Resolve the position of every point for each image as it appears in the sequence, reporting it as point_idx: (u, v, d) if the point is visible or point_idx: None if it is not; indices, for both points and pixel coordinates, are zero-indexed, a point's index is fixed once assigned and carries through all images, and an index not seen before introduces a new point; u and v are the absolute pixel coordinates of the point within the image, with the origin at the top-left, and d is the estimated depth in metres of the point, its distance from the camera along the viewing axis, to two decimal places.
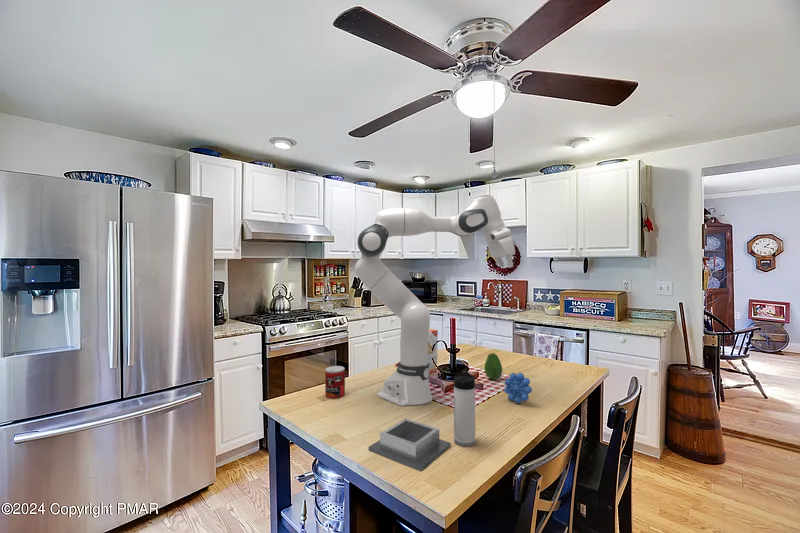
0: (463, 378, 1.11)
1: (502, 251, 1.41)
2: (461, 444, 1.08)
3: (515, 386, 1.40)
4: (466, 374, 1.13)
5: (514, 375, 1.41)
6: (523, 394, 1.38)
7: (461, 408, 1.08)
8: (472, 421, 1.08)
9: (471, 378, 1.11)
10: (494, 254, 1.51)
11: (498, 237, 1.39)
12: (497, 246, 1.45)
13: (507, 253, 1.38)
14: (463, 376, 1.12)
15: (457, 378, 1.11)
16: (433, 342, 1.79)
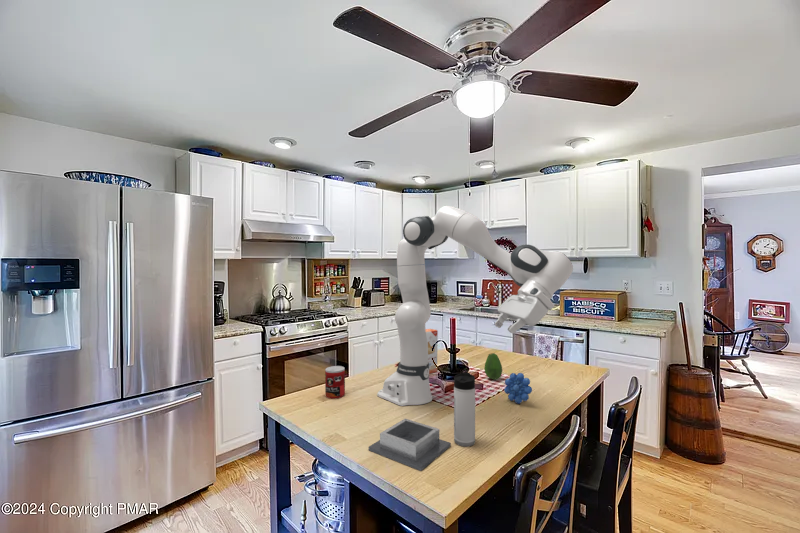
0: (463, 378, 1.11)
1: (524, 311, 1.07)
2: (461, 444, 1.08)
3: (515, 386, 1.40)
4: (466, 374, 1.13)
5: (514, 375, 1.41)
6: (523, 394, 1.38)
7: (461, 408, 1.08)
8: (472, 421, 1.08)
9: (471, 378, 1.11)
10: (506, 309, 1.17)
11: (540, 296, 1.05)
12: (522, 304, 1.11)
13: (528, 316, 1.03)
14: (463, 376, 1.12)
15: (457, 378, 1.11)
16: (433, 342, 1.79)
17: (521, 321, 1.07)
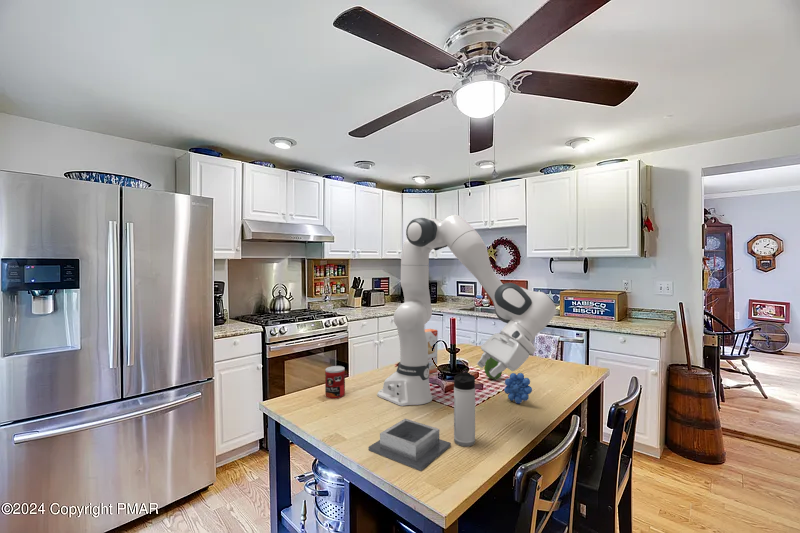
0: (463, 378, 1.11)
1: (505, 354, 1.06)
2: (461, 444, 1.08)
3: (515, 386, 1.40)
4: (466, 374, 1.13)
5: (514, 375, 1.41)
6: (523, 394, 1.38)
7: (461, 408, 1.08)
8: (472, 421, 1.08)
9: (471, 378, 1.11)
10: (489, 348, 1.16)
11: (521, 341, 1.04)
12: (504, 346, 1.10)
13: (509, 361, 1.02)
14: (463, 376, 1.12)
15: (457, 378, 1.11)
16: (433, 342, 1.79)
17: (502, 365, 1.06)
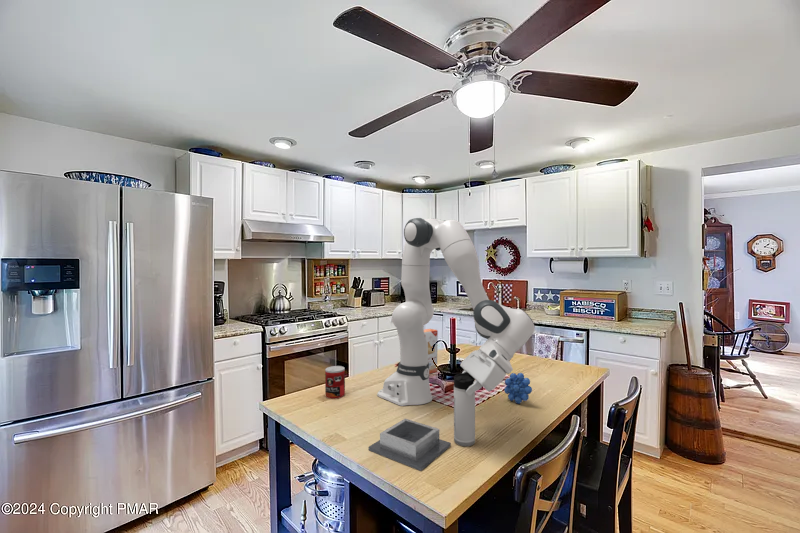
0: (463, 378, 1.11)
1: (482, 374, 1.05)
2: (461, 444, 1.08)
3: (515, 386, 1.40)
4: (466, 374, 1.13)
5: (514, 375, 1.41)
6: (523, 394, 1.38)
7: (461, 408, 1.08)
8: (472, 421, 1.08)
9: (471, 378, 1.11)
10: (467, 366, 1.15)
11: (497, 360, 1.03)
12: (482, 365, 1.09)
13: (484, 382, 1.01)
14: (463, 376, 1.13)
15: (457, 378, 1.11)
16: (433, 342, 1.79)
17: (477, 384, 1.06)
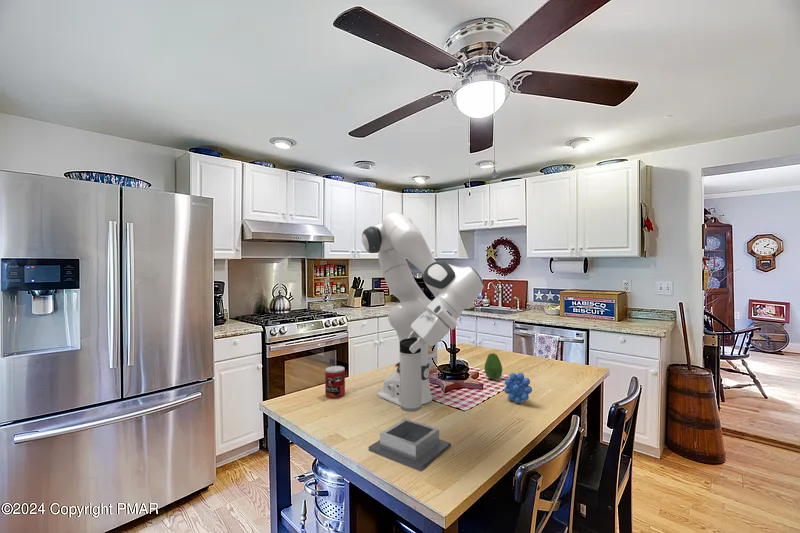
0: (409, 342, 1.07)
1: (425, 330, 1.01)
2: (406, 409, 1.05)
3: (515, 386, 1.40)
4: (413, 339, 1.09)
5: (514, 375, 1.41)
6: (523, 394, 1.38)
7: (406, 373, 1.04)
8: (417, 386, 1.05)
9: None
10: (415, 326, 1.11)
11: (440, 315, 0.99)
12: (428, 322, 1.05)
13: (426, 336, 0.97)
14: (410, 341, 1.09)
15: (403, 342, 1.07)
16: None
17: (421, 340, 1.02)
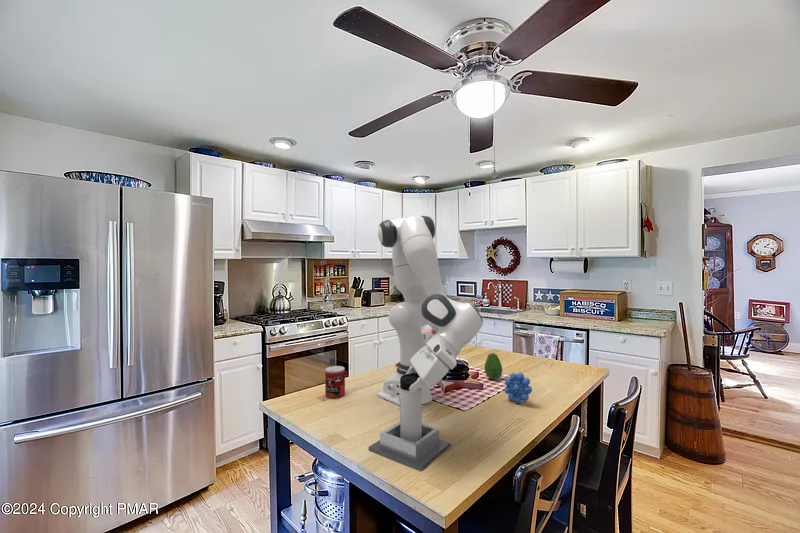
0: (409, 378, 1.07)
1: (425, 370, 1.01)
2: None
3: (515, 386, 1.40)
4: (413, 374, 1.10)
5: (514, 375, 1.41)
6: (523, 394, 1.38)
7: (406, 410, 1.04)
8: (417, 423, 1.05)
9: (417, 378, 1.07)
10: (415, 362, 1.11)
11: (440, 355, 0.99)
12: (427, 360, 1.05)
13: (425, 377, 0.97)
14: (410, 376, 1.09)
15: (403, 378, 1.07)
16: None
17: (421, 381, 1.01)
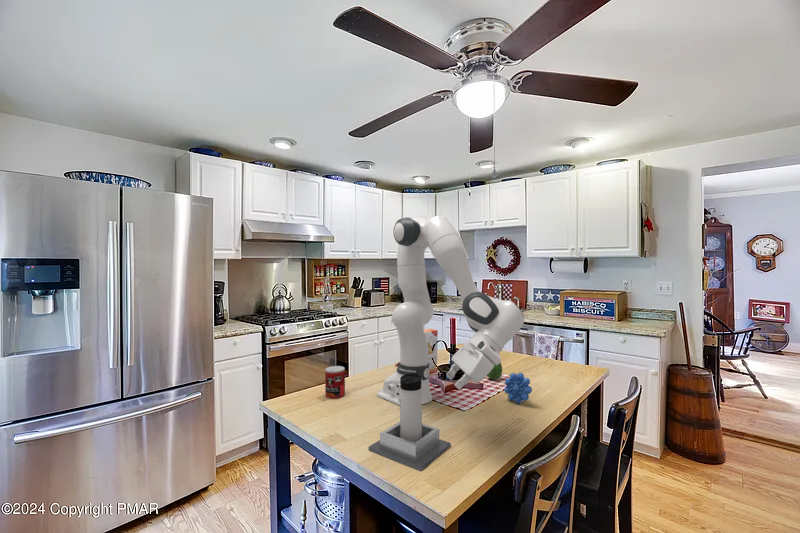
0: (409, 378, 1.07)
1: (470, 366, 1.03)
2: None
3: (515, 386, 1.40)
4: (414, 374, 1.09)
5: (514, 375, 1.41)
6: (523, 394, 1.38)
7: (406, 410, 1.04)
8: (417, 423, 1.05)
9: (418, 378, 1.07)
10: (457, 359, 1.13)
11: (485, 351, 1.02)
12: (471, 357, 1.08)
13: (472, 373, 1.00)
14: (410, 376, 1.09)
15: (403, 378, 1.07)
16: (433, 342, 1.79)
17: (467, 377, 1.03)
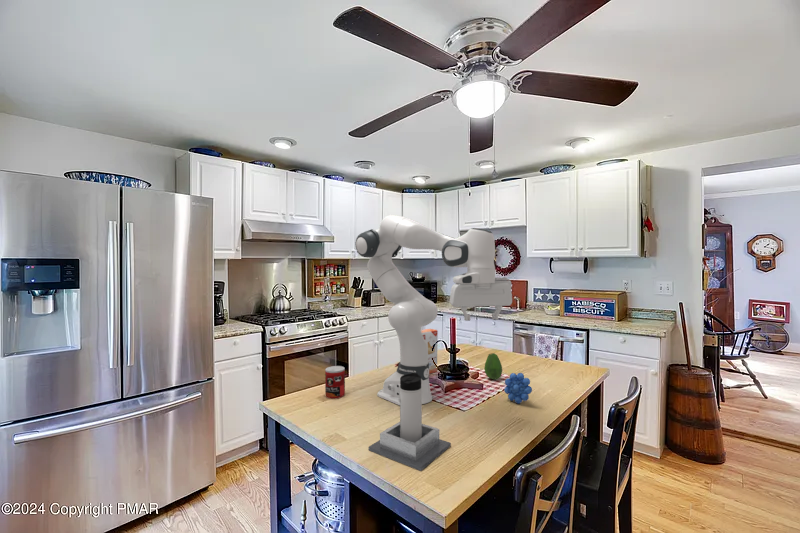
0: (409, 378, 1.07)
1: None
2: None
3: (515, 386, 1.40)
4: (413, 374, 1.10)
5: (514, 375, 1.41)
6: (523, 394, 1.38)
7: (406, 410, 1.04)
8: (417, 423, 1.05)
9: (417, 378, 1.07)
10: None
11: (453, 281, 1.21)
12: None
13: (450, 302, 1.20)
14: (410, 376, 1.09)
15: (403, 378, 1.07)
16: (433, 342, 1.79)
17: (461, 307, 1.20)
